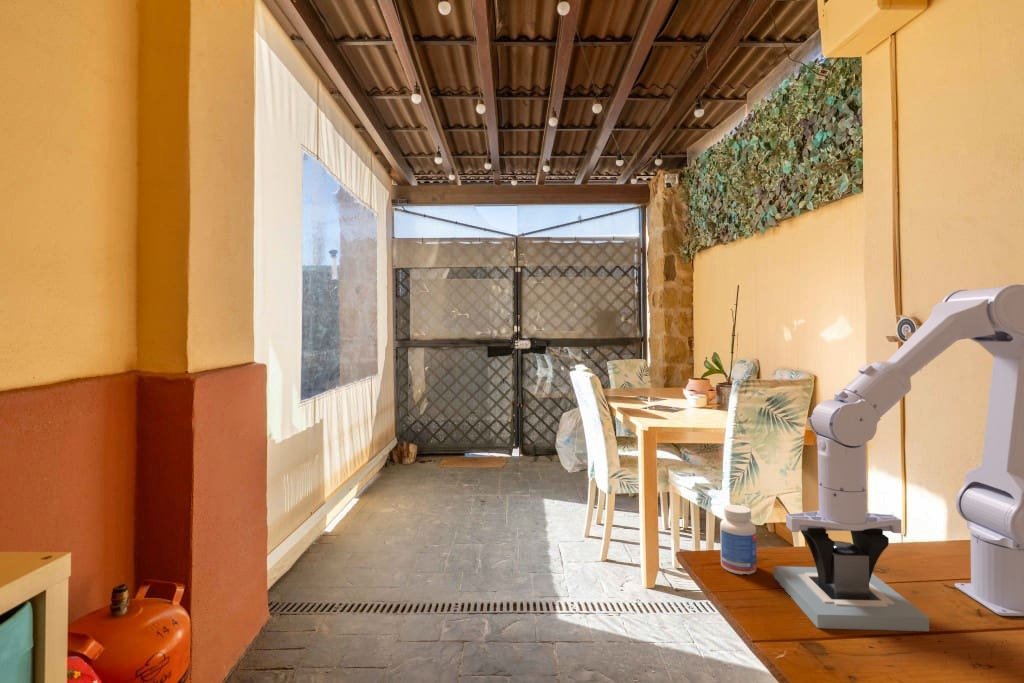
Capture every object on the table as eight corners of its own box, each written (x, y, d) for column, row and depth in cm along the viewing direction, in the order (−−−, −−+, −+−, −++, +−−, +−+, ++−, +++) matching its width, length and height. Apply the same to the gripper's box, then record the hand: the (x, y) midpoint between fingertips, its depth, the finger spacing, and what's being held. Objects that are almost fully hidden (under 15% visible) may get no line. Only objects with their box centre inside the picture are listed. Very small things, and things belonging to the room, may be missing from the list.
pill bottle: (761, 576, 79) (760, 515, 79) (724, 574, 81) (723, 513, 80) (751, 561, 85) (750, 503, 85) (717, 559, 86) (716, 502, 86)
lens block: (850, 586, 74) (850, 539, 74) (869, 602, 69) (868, 553, 69) (818, 585, 74) (817, 539, 74) (834, 602, 70) (834, 552, 70)
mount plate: (865, 579, 78) (865, 566, 78) (929, 631, 64) (928, 615, 64) (774, 577, 79) (773, 565, 79) (817, 628, 66) (817, 612, 66)
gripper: (878, 477, 75) (879, 568, 75) (776, 477, 76) (777, 566, 76) (911, 492, 68) (912, 593, 68) (798, 492, 69) (799, 590, 69)
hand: (843, 580), depth 72 cm, fingers closed on lens block, 4 cm apart
